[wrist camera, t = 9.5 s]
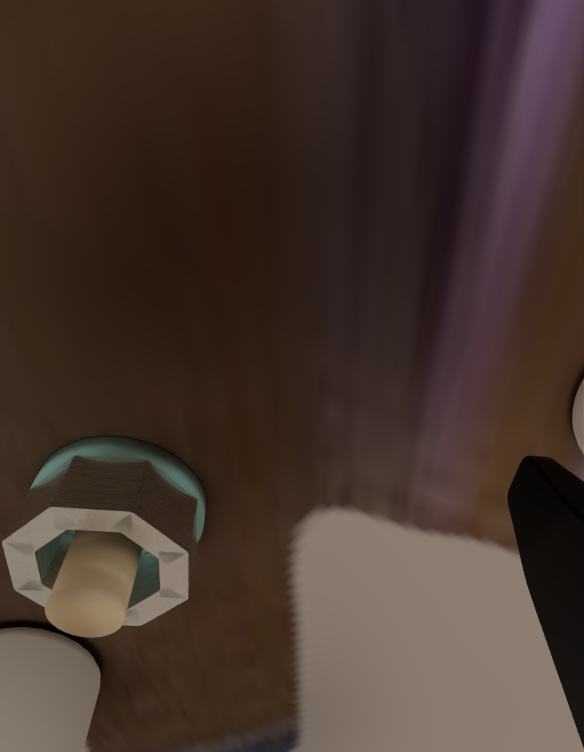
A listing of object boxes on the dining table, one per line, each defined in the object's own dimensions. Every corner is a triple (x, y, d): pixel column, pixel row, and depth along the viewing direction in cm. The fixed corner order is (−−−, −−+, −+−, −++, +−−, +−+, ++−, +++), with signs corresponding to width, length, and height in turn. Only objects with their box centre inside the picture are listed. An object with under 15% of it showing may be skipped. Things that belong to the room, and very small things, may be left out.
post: (208, 443, 25) (188, 552, 20) (204, 561, 29) (187, 675, 24) (23, 429, 24) (-45, 538, 19) (47, 551, 28) (-3, 667, 23)
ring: (198, 463, 24) (188, 515, 21) (196, 573, 28) (187, 628, 25) (23, 451, 23) (-9, 503, 21) (46, 565, 27) (22, 620, 25)
